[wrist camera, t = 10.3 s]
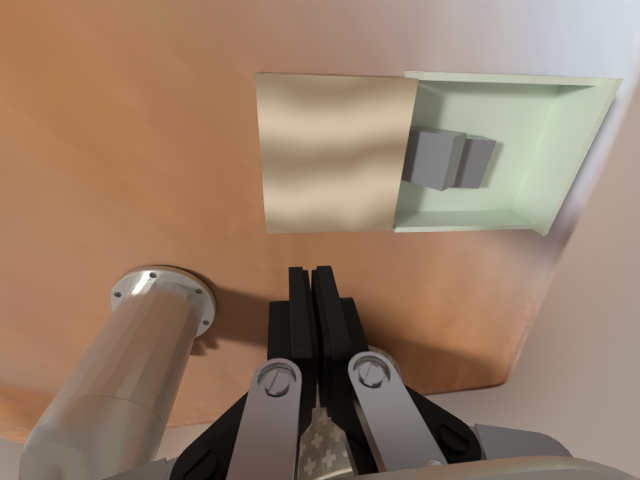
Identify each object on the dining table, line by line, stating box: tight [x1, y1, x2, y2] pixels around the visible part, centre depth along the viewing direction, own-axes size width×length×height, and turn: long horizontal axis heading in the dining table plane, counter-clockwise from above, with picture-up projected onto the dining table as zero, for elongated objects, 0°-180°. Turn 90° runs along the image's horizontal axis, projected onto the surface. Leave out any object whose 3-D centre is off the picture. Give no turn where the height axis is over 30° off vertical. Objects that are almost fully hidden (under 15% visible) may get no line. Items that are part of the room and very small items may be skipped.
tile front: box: [401, 126, 467, 191], centre depth 29 cm, size 5×5×2 cm
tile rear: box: [449, 135, 496, 189], centre depth 31 cm, size 5×5×2 cm
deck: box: [255, 72, 419, 234], centre depth 29 cm, size 14×13×5 cm
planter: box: [298, 345, 406, 480], centre depth 42 cm, size 19×19×18 cm
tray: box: [392, 71, 623, 236], centre depth 30 cm, size 15×17×6 cm
